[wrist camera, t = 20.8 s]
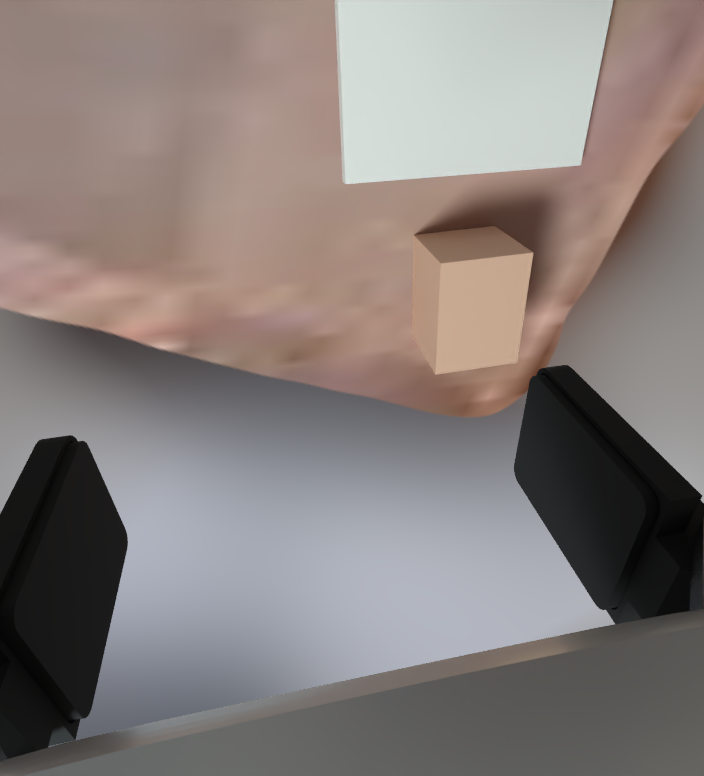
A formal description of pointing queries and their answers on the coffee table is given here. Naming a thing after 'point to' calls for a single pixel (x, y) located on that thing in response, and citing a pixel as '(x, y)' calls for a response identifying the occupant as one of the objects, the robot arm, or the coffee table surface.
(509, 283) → the tan block
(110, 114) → the coffee table surface
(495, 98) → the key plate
